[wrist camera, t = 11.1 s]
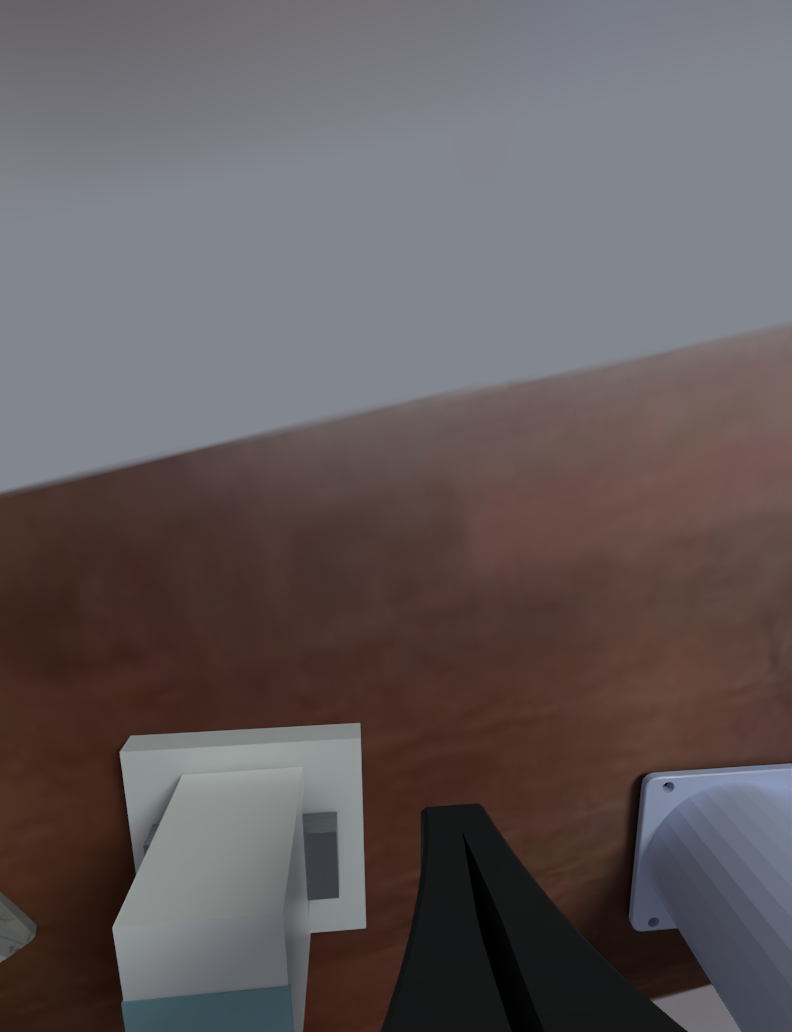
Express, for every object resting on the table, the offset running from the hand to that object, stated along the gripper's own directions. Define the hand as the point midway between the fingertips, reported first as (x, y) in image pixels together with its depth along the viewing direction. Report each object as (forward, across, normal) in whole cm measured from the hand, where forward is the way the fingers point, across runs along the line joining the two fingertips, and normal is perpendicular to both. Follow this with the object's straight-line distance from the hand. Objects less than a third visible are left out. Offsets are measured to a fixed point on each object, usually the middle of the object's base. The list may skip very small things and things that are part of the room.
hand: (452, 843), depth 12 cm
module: (+8, +6, +7) cm, 13 cm away
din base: (+9, +6, +8) cm, 14 cm away
